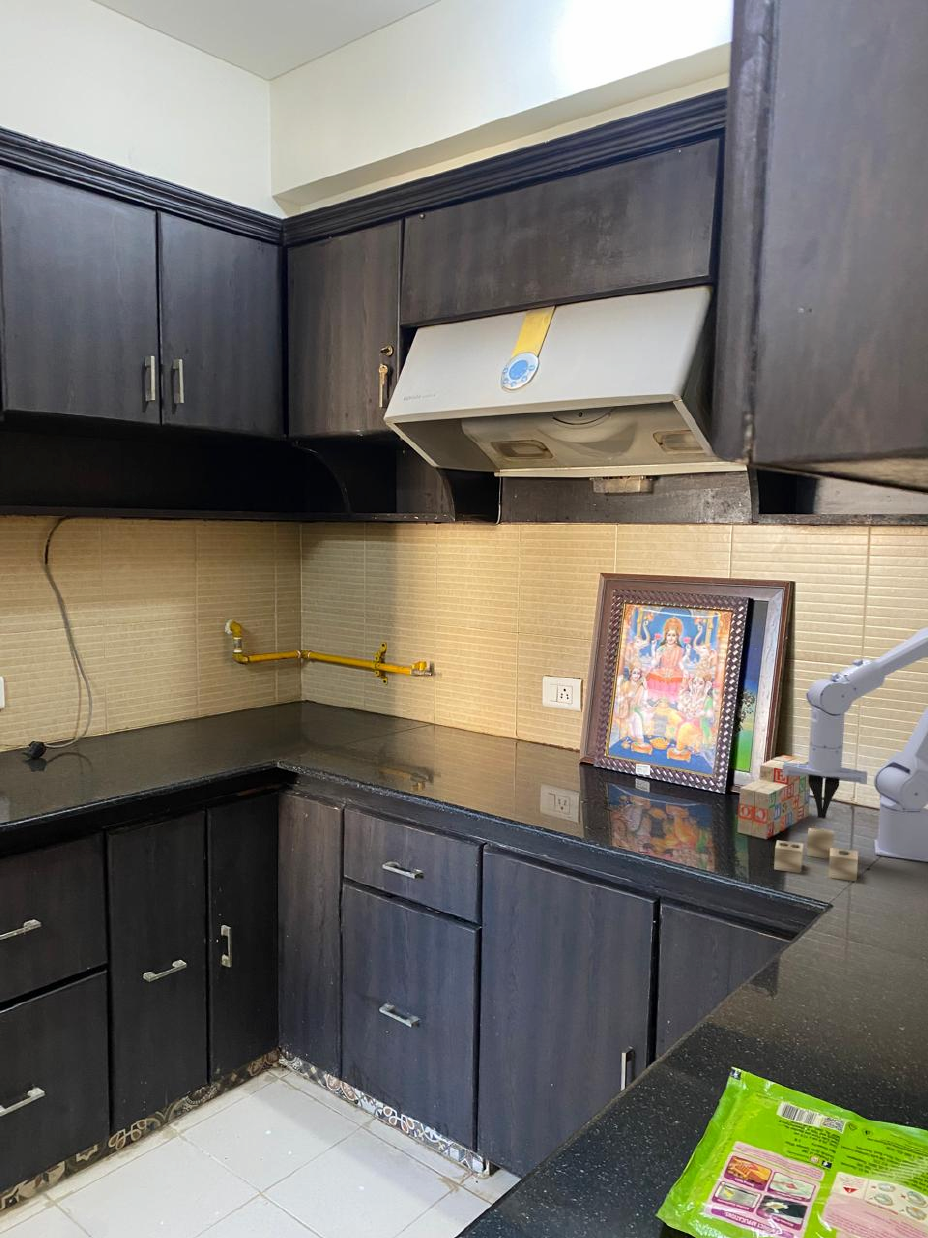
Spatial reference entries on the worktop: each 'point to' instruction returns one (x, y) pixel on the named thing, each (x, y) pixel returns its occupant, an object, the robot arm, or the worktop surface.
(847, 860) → the one-dot maple block
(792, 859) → the two-dot maple block
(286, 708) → the worktop surface
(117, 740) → the worktop surface
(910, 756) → the robot arm
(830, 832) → the plain maple block
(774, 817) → the stack of blocks
